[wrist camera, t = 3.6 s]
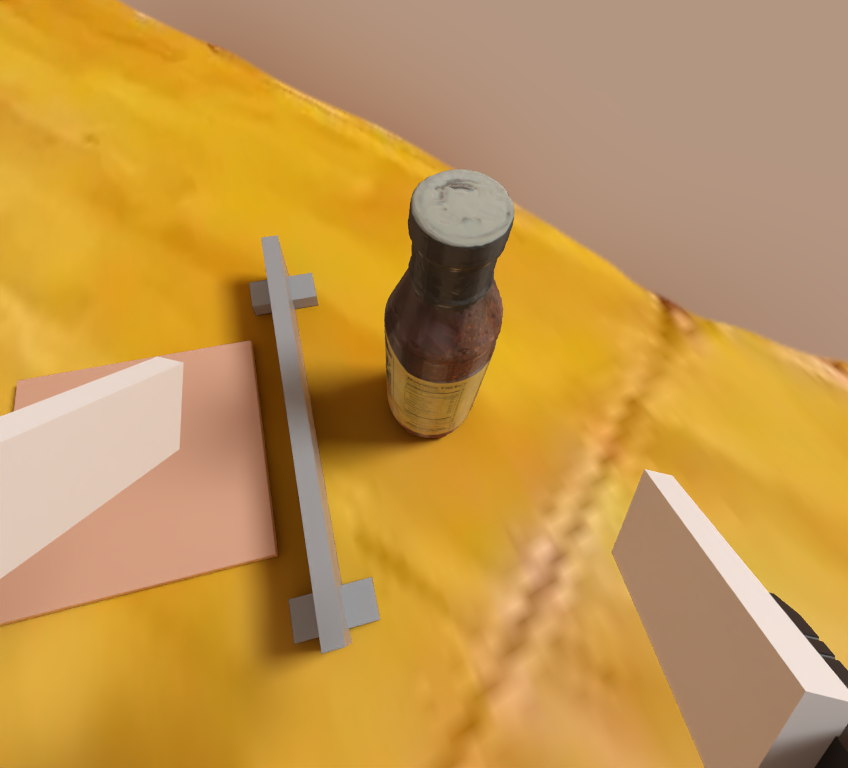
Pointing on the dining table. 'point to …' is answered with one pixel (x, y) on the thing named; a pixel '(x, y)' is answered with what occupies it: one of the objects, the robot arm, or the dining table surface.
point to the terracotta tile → (162, 496)
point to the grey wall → (309, 468)
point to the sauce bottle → (446, 301)
